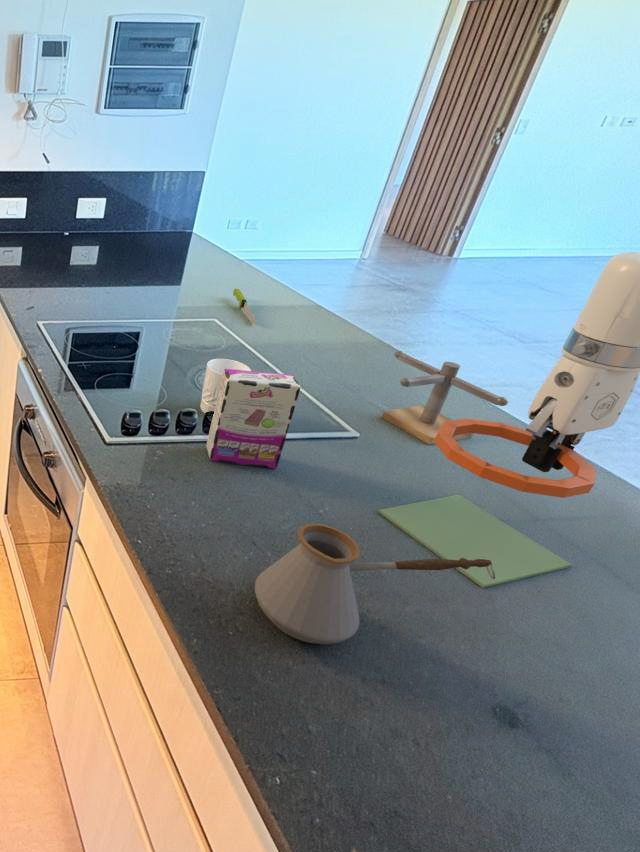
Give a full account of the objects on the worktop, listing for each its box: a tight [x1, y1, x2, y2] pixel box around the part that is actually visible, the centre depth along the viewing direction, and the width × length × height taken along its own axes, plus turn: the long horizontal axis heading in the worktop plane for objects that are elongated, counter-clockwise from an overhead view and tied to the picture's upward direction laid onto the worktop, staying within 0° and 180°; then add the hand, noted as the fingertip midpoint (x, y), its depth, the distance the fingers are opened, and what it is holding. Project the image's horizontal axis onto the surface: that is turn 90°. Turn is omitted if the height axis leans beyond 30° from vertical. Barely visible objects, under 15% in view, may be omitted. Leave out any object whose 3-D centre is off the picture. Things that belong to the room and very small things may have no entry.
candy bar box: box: [205, 369, 302, 469], centre depth 107 cm, size 11×5×16 cm, turn 76°
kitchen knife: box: [232, 288, 259, 325], centre depth 173 cm, size 22×1×3 cm, turn 170°
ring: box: [434, 417, 597, 499], centre depth 85 cm, size 16×16×2 cm
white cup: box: [199, 358, 252, 414], centre depth 123 cm, size 8×8×10 cm
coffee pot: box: [254, 523, 495, 645], centre depth 74 cm, size 21×12×15 cm, turn 69°
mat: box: [377, 494, 573, 589], centre depth 92 cm, size 16×16×1 cm
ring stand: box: [381, 350, 509, 446], centre depth 116 cm, size 15×21×14 cm
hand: (541, 464), depth 88 cm, fingers closed on ring, 1 cm apart
